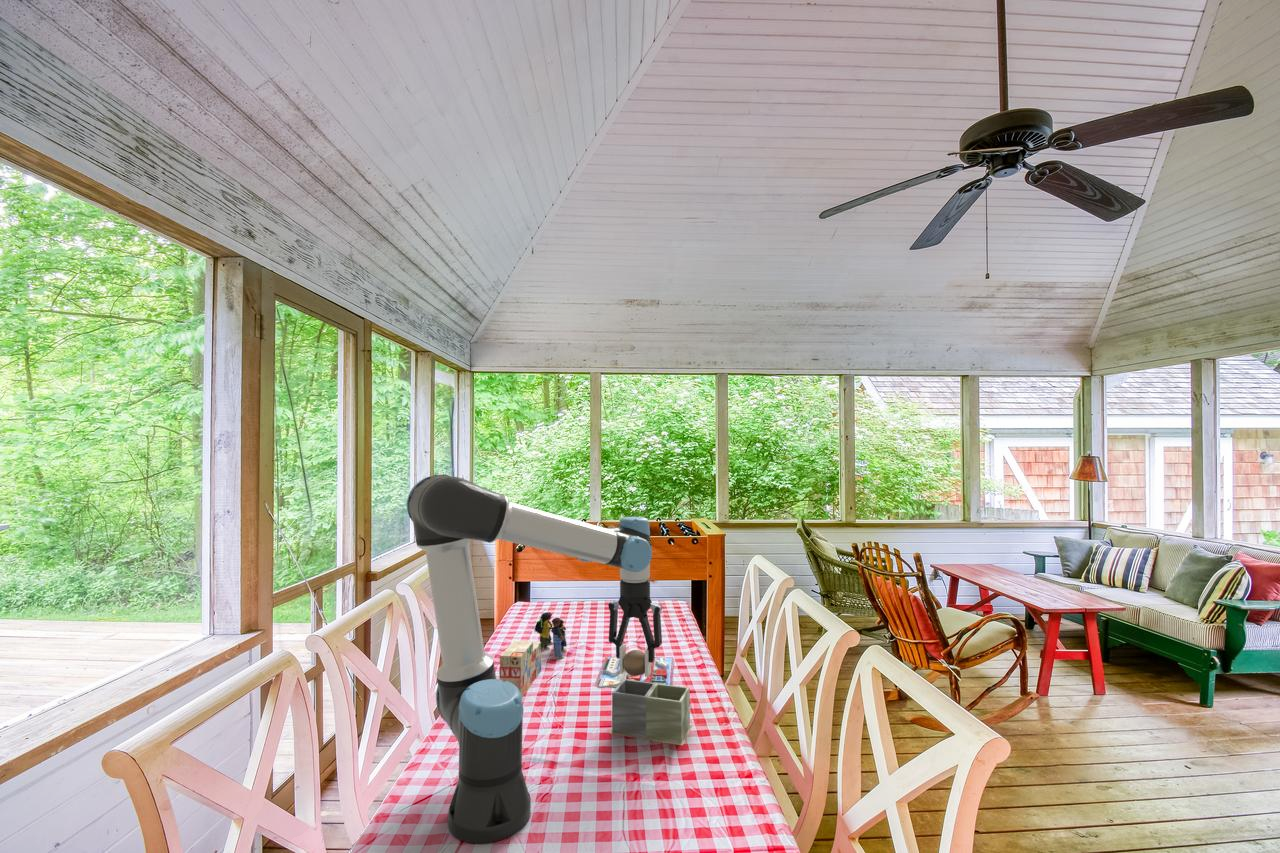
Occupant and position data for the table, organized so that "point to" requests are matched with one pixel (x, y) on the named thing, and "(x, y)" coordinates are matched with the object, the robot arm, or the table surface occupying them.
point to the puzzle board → (613, 678)
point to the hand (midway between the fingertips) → (635, 672)
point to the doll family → (558, 634)
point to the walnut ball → (634, 662)
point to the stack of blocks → (521, 664)
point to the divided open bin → (651, 711)
